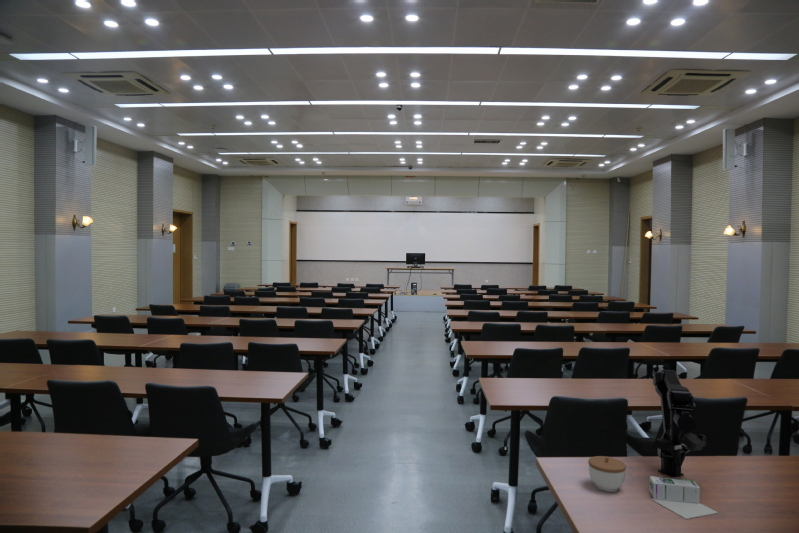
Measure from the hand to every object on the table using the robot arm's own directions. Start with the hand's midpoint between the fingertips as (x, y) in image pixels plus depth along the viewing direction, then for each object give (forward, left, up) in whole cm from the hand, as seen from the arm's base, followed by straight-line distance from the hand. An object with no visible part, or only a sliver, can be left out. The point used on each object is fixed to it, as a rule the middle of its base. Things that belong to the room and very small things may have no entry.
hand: (679, 466), depth 179 cm
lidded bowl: (-8, -25, -8) cm, 28 cm away
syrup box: (+9, -2, -5) cm, 11 cm away
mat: (+11, -10, -8) cm, 17 cm away
